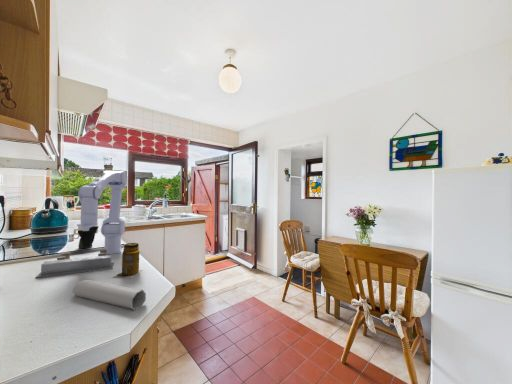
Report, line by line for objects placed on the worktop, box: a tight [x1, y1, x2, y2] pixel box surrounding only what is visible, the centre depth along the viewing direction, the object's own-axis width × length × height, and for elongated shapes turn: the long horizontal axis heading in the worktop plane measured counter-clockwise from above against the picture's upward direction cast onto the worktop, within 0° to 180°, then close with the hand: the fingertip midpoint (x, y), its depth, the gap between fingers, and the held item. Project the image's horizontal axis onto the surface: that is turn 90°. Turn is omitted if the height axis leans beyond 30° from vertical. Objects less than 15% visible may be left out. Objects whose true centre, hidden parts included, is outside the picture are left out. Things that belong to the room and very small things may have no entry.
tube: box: [72, 279, 147, 311], centre depth 65 cm, size 5×5×25 cm
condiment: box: [113, 242, 144, 279], centre depth 86 cm, size 7×8×12 cm
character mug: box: [73, 226, 99, 249], centre depth 122 cm, size 11×7×13 cm, turn 125°
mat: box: [34, 261, 115, 279], centre depth 89 cm, size 8×24×1 cm, turn 120°
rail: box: [40, 254, 112, 275], centre depth 89 cm, size 4×22×4 cm, turn 120°
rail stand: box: [56, 248, 108, 260], centre depth 97 cm, size 8×20×4 cm, turn 120°
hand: (88, 245), depth 92 cm, fingers open, 7 cm apart
